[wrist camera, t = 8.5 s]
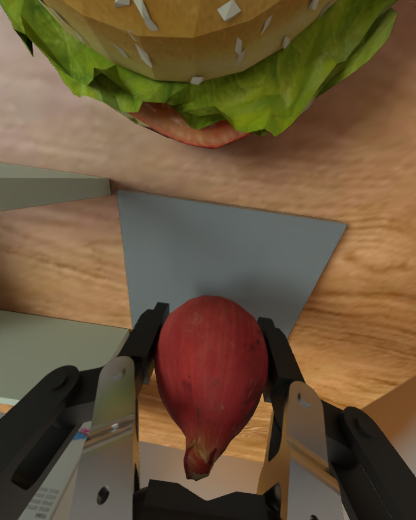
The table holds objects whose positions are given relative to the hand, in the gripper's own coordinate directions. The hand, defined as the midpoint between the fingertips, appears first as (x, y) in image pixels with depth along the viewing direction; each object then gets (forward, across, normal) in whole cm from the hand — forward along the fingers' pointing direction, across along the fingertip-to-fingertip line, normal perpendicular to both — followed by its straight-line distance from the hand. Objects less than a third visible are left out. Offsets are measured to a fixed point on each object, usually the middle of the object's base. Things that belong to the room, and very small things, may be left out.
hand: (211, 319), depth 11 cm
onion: (+2, 0, 0) cm, 2 cm away
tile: (+3, 0, 0) cm, 3 cm away
